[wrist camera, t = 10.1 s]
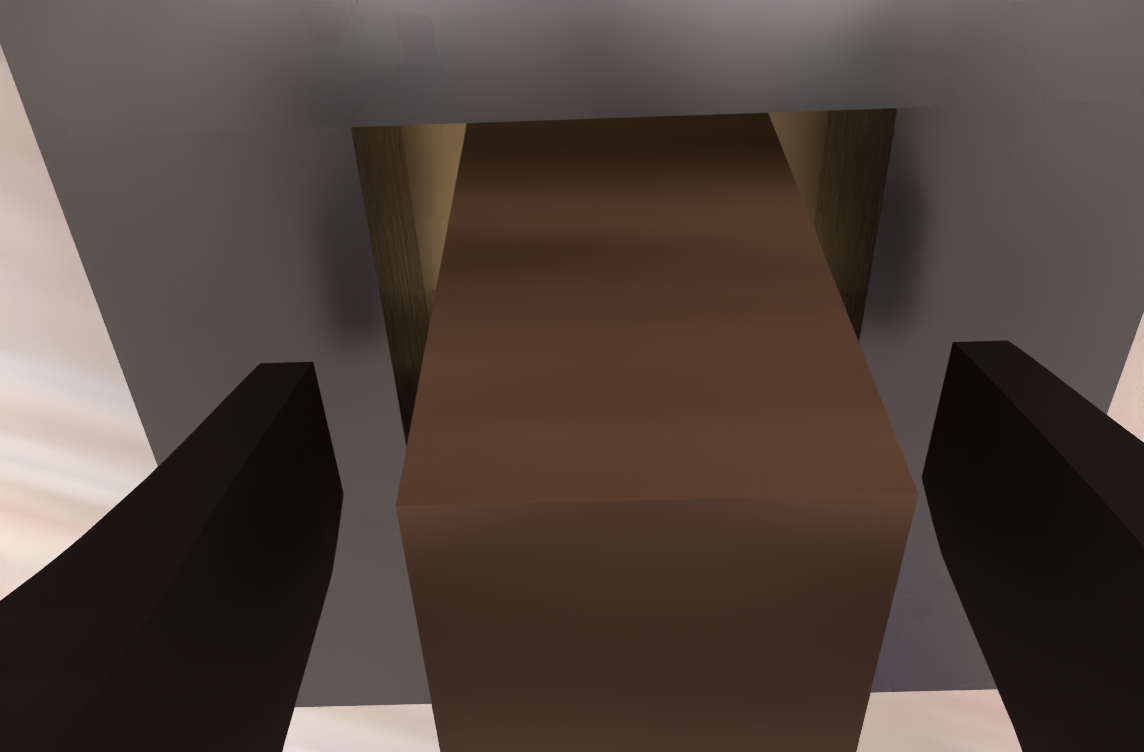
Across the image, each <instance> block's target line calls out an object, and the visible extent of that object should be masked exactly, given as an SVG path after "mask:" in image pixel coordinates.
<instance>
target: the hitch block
mask: <svg viewBox="0 0 1144 752" xmlns="http://www.w3.org/2000/svg"><path fill="white" fill-rule="evenodd" d="M0 44H1V47H2V49H3V52H4V55H5V57H6V60H7V63H8V65H9V68H10V71H11V73H12V76H13V79H14V81H15V84H16V87H17V90H18V92H19V95H20V98H21V100H22V103H23V106H24V108H25V111H26V114H27V116H28V119H29V122H30V124H31V127H32V130H33V132H34V135H35V138H36V140H37V143H38V146H39V149H40V151H41V154H42V157H43V159H44V162H45V165H46V167H47V170H48V173H49V175H50V178H51V181H52V183H53V186H54V189H55V191H56V194H57V197H58V199H59V202H60V205H61V207H62V210H63V213H64V216H65V218H66V221H67V224H68V226H69V229H70V232H71V234H72V237H73V240H74V242H75V245H76V248H77V250H78V253H79V256H80V258H81V261H82V264H83V266H84V269H85V272H86V275H87V277H88V280H89V283H90V285H91V288H92V291H93V293H94V296H95V299H96V301H97V304H98V307H99V309H100V312H101V315H102V317H103V320H104V323H105V325H106V328H107V331H108V334H109V336H110V339H111V342H112V344H113V347H114V350H115V352H116V355H117V358H118V360H119V363H120V366H121V368H122V371H123V374H124V376H125V379H126V382H127V384H128V387H129V390H130V392H131V395H132V398H133V401H134V403H135V406H136V409H137V411H138V414H139V417H140V419H141V422H142V425H143V427H144V430H145V433H146V435H147V438H148V441H149V443H150V446H151V449H152V451H153V454H154V457H155V460H156V462H157V465H158V466H159V465H160V464H161V463H162V462H163V461H164V460H165V459H166V458H167V457H168V456H169V455H170V454H171V453H172V452H173V451H174V450H175V449H176V448H177V447H178V446H179V445H180V444H181V443H182V442H183V441H184V440H185V439H186V438H187V437H188V436H189V435H190V434H191V433H192V432H193V431H194V430H195V429H196V428H197V427H198V426H199V425H200V424H201V423H202V422H203V421H204V420H205V419H206V418H207V417H208V416H209V415H210V414H211V413H212V412H213V411H214V410H215V409H216V407H217V406H218V405H219V404H220V403H221V402H222V401H223V400H224V399H225V398H226V397H227V396H228V395H229V394H230V393H231V392H232V391H233V390H234V389H235V388H236V387H237V386H238V385H239V384H240V383H241V382H242V381H243V380H244V379H245V378H246V377H247V376H248V375H249V374H250V373H251V372H252V371H253V370H254V369H255V368H256V367H257V366H258V365H259V364H260V363H283V362H314V367H315V371H316V376H317V380H318V384H319V389H320V393H321V397H322V402H323V406H324V410H325V415H326V419H327V423H328V428H329V432H330V436H331V441H332V445H333V449H334V454H335V458H336V462H337V467H338V471H339V475H340V480H341V484H342V489H343V493H344V496H343V504H342V511H341V519H340V526H339V534H338V541H337V547H336V554H335V560H334V566H333V572H332V576H331V580H330V583H329V587H328V591H327V595H326V598H325V602H324V605H323V609H322V613H321V616H320V620H319V623H318V627H317V631H316V634H315V638H314V641H313V645H312V648H311V652H310V655H309V659H308V662H307V665H306V669H305V672H304V676H303V679H302V683H301V686H300V690H299V693H298V697H297V700H296V704H295V707H320V706H359V705H398V704H432V703H431V697H430V692H429V686H428V681H427V675H426V670H425V664H424V659H423V653H422V648H421V642H420V637H419V631H418V626H417V620H416V615H415V610H414V604H413V599H412V593H411V588H410V582H409V577H408V571H407V566H406V560H405V555H404V549H403V544H402V538H401V533H400V527H399V522H398V516H397V511H396V502H397V497H398V491H399V486H400V481H401V475H402V470H403V464H404V459H405V454H406V448H407V443H408V438H409V432H410V427H411V421H412V416H413V411H414V405H415V400H416V394H417V389H418V384H419V378H420V373H421V367H422V362H423V357H424V351H425V346H426V340H427V335H428V330H429V324H430V319H431V313H432V308H433V303H434V297H435V292H436V287H437V281H438V276H439V270H440V265H441V260H442V254H443V249H444V243H445V238H446V233H447V227H448V222H449V216H450V211H451V206H452V200H453V195H454V189H455V184H456V179H457V173H458V168H459V163H460V157H461V152H462V146H463V141H464V136H465V130H466V125H467V123H483V122H512V121H541V120H570V119H598V118H627V117H656V116H685V115H714V114H743V113H769V116H770V118H771V121H772V124H773V126H774V129H775V131H776V134H777V136H778V139H779V141H780V144H781V146H782V149H783V151H784V154H785V156H786V159H787V162H788V164H789V167H790V169H791V172H792V174H793V177H794V179H795V182H796V184H797V187H798V189H799V192H800V195H801V197H802V200H803V202H804V205H805V207H806V210H807V212H808V215H809V217H810V220H811V222H812V225H813V227H814V230H815V233H816V235H817V238H818V240H819V243H820V245H821V248H822V250H823V253H824V255H825V258H826V260H827V263H828V266H829V268H830V271H831V273H832V276H833V278H834V281H835V283H836V286H837V288H838V291H839V293H840V296H841V298H842V301H843V304H844V306H845V309H846V311H847V314H848V316H849V319H850V321H851V324H852V326H853V329H854V331H855V334H856V337H857V339H858V342H859V344H860V347H861V349H862V352H863V354H864V357H865V359H866V362H867V364H868V367H869V369H870V372H871V375H872V377H873V380H874V382H875V385H876V387H877V390H878V392H879V395H880V397H881V400H882V402H883V405H884V408H885V410H886V413H887V415H888V418H889V420H890V423H891V425H892V428H893V430H894V433H895V435H896V438H897V440H898V443H899V446H900V448H901V451H902V453H903V456H904V458H905V461H906V463H907V466H908V468H909V471H910V473H911V476H912V479H913V481H914V484H915V486H916V489H917V491H918V498H917V502H916V506H915V511H914V515H913V519H912V523H911V527H910V531H909V535H908V540H907V544H906V548H905V552H904V556H903V560H902V564H901V568H900V573H899V577H898V581H897V585H896V589H895V593H894V597H893V601H892V606H891V610H890V614H889V618H888V622H887V626H886V630H885V635H884V639H883V643H882V647H881V651H880V655H879V659H878V663H877V668H876V672H875V676H874V680H873V684H872V688H871V692H904V691H943V690H982V689H997V686H996V684H995V682H994V679H993V677H992V675H991V672H990V670H989V668H988V665H987V663H986V660H985V658H984V656H983V653H982V651H981V649H980V646H979V644H978V642H977V639H976V637H975V635H974V632H973V630H972V627H971V625H970V623H969V620H968V618H967V616H966V613H965V611H964V608H963V606H962V604H961V601H960V599H959V596H958V594H957V591H956V589H955V587H954V584H953V582H952V579H951V577H950V575H949V572H948V570H947V567H946V565H945V562H944V560H943V557H942V554H941V551H940V547H939V544H938V540H937V536H936V533H935V529H934V526H933V522H932V518H931V514H930V510H929V506H928V502H927V498H926V494H925V490H924V486H923V482H922V478H921V477H922V473H923V469H924V464H925V460H926V456H927V451H928V447H929V443H930V438H931V434H932V430H933V425H934V421H935V417H936V412H937V408H938V404H939V399H940V395H941V391H942V386H943V382H944V378H945V373H946V369H947V365H948V360H949V356H950V352H951V347H952V343H953V342H970V341H1002V340H1008V341H1009V342H1011V343H1012V344H1014V345H1015V346H1017V347H1018V348H1020V349H1021V350H1022V351H1024V352H1025V353H1027V354H1028V355H1029V356H1031V357H1032V358H1033V359H1035V360H1036V361H1037V362H1039V363H1040V364H1041V365H1043V366H1044V367H1045V368H1047V369H1048V370H1049V371H1050V372H1052V373H1053V374H1054V375H1056V376H1057V377H1058V378H1060V379H1061V380H1062V381H1063V382H1065V383H1066V384H1067V385H1069V386H1070V387H1071V388H1072V389H1074V390H1075V391H1076V392H1078V393H1079V394H1080V395H1082V396H1083V397H1084V398H1085V399H1087V400H1088V401H1089V402H1091V403H1092V404H1093V405H1095V406H1096V407H1097V408H1098V409H1100V410H1101V411H1102V412H1104V413H1105V414H1106V415H1107V412H1108V409H1109V406H1110V404H1111V401H1112V398H1113V395H1114V392H1115V390H1116V387H1117V384H1118V381H1119V379H1120V376H1121V373H1122V370H1123V368H1124V365H1125V362H1126V359H1127V357H1128V354H1129V351H1130V348H1131V345H1132V343H1133V340H1134V337H1135V334H1136V332H1137V329H1138V326H1139V323H1140V321H1141V318H1142V315H1143V312H1144V0H0Z"/></svg>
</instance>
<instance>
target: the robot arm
mask: <svg viewBox="0 0 1144 752" xmlns="http://www.w3.org/2000/svg"><path fill="white" fill-rule="evenodd" d="M921 478H922V482H923V486H924V490H925V494H926V498H927V502H928V506H929V510H930V514H931V518H932V522H933V526H934V529H935V533H936V536H937V540H938V544H939V547H940V551H941V554H942V557H943V560H944V562H945V565H946V567H947V570H948V572H949V575H950V577H951V579H952V582H953V584H954V587H955V589H956V591H957V594H958V596H959V599H960V601H961V604H962V606H963V608H964V611H965V613H966V616H967V618H968V620H969V623H970V625H971V627H972V630H973V632H974V635H975V637H976V639H977V642H978V644H979V646H980V649H981V651H982V653H983V656H984V658H985V660H986V663H987V665H988V668H989V670H990V672H991V675H992V677H993V679H994V682H995V684H996V686H997V689H998V691H999V694H1000V696H1001V698H1002V701H1003V703H1004V705H1005V708H1006V710H1007V712H1008V715H1009V717H1010V720H1011V722H1012V724H1013V727H1014V729H1015V732H1016V735H1017V738H1018V740H1019V743H1020V746H1021V748H1022V751H1023V752H1144V442H1142V441H1141V440H1140V439H1138V438H1137V437H1135V436H1134V435H1133V434H1131V433H1130V432H1129V431H1127V430H1126V429H1125V428H1123V427H1122V426H1121V425H1119V424H1118V423H1117V422H1115V421H1114V420H1113V419H1112V418H1110V417H1109V416H1108V415H1106V414H1105V413H1104V412H1102V411H1101V410H1100V409H1098V408H1097V407H1096V406H1095V405H1093V404H1092V403H1091V402H1089V401H1088V400H1087V399H1085V398H1084V397H1083V396H1082V395H1080V394H1079V393H1078V392H1076V391H1075V390H1074V389H1072V388H1071V387H1070V386H1069V385H1067V384H1066V383H1065V382H1063V381H1062V380H1061V379H1060V378H1058V377H1057V376H1056V375H1054V374H1053V373H1052V372H1050V371H1049V370H1048V369H1047V368H1045V367H1044V366H1043V365H1041V364H1040V363H1039V362H1037V361H1036V360H1035V359H1033V358H1032V357H1031V356H1029V355H1028V354H1027V353H1025V352H1024V351H1022V350H1021V349H1020V348H1018V347H1017V346H1015V345H1014V344H1012V343H1011V342H1009V341H1008V340H1002V341H970V342H953V343H952V347H951V352H950V356H949V360H948V365H947V369H946V373H945V378H944V382H943V386H942V391H941V395H940V399H939V404H938V408H937V412H936V417H935V421H934V425H933V430H932V434H931V438H930V443H929V447H928V451H927V456H926V460H925V464H924V469H923V473H922V477H921ZM343 496H344V493H343V489H342V484H341V480H340V475H339V471H338V467H337V462H336V458H335V454H334V449H333V445H332V441H331V436H330V432H329V428H328V423H327V419H326V415H325V410H324V406H323V402H322V397H321V393H320V389H319V384H318V380H317V376H316V371H315V367H314V362H283V363H260V364H259V365H258V366H257V367H256V368H255V369H254V370H253V371H252V372H251V373H250V374H249V375H248V376H247V377H246V378H245V379H244V380H243V381H242V382H241V383H240V384H239V385H238V386H237V387H236V388H235V389H234V390H233V391H232V392H231V393H230V394H229V395H228V396H227V397H226V398H225V399H224V400H223V401H222V402H221V403H220V404H219V405H218V406H217V407H216V409H215V410H214V411H213V412H212V413H211V414H210V415H209V416H208V417H207V418H206V419H205V420H204V421H203V422H202V423H201V424H200V425H199V426H198V427H197V428H196V429H195V430H194V431H193V432H192V433H191V434H190V435H189V436H188V437H187V438H186V439H185V440H184V441H183V442H182V443H181V444H180V445H179V446H178V447H177V448H176V449H175V450H174V451H173V452H172V453H171V454H170V455H169V456H168V457H167V458H166V459H165V460H164V461H163V462H162V463H161V464H160V465H159V466H158V467H157V468H156V469H155V470H154V471H153V472H152V473H151V474H150V475H149V476H148V477H147V478H146V479H145V480H144V481H143V482H142V483H141V484H139V485H138V486H137V487H136V488H135V489H134V490H133V491H132V492H131V493H129V494H128V495H127V496H126V497H125V498H124V499H123V500H122V501H121V502H119V503H118V504H117V505H116V506H115V507H114V508H113V509H112V510H111V511H109V512H108V513H107V514H106V515H105V516H104V517H103V518H102V519H101V520H100V521H98V522H97V523H96V524H95V525H94V526H93V527H92V528H91V529H90V530H88V531H87V532H86V533H85V534H84V535H83V536H82V537H81V538H79V539H78V540H77V541H76V542H75V543H74V544H72V545H71V546H70V547H69V548H68V549H66V550H65V551H64V552H63V553H61V554H60V555H59V556H58V557H57V558H55V559H54V560H53V561H52V562H50V563H49V564H48V565H47V566H45V567H44V568H43V569H42V570H40V571H39V572H38V573H36V574H35V575H34V576H32V577H31V578H30V579H28V580H27V581H26V582H24V583H23V584H22V585H21V586H19V587H18V588H17V589H15V590H14V591H13V592H11V593H10V594H9V595H7V596H6V597H5V598H3V599H2V600H1V601H0V752H282V751H283V747H284V742H285V739H286V735H287V732H288V728H289V725H290V721H291V718H292V714H293V711H294V707H295V704H296V700H297V697H298V693H299V690H300V686H301V683H302V679H303V676H304V672H305V669H306V665H307V662H308V659H309V655H310V652H311V648H312V645H313V641H314V638H315V634H316V631H317V627H318V623H319V620H320V616H321V613H322V609H323V605H324V602H325V598H326V595H327V591H328V587H329V583H330V580H331V576H332V572H333V566H334V560H335V554H336V547H337V541H338V534H339V526H340V519H341V511H342V504H343Z"/></svg>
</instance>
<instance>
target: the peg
mask: <svg viewBox="0 0 1144 752" xmlns="http://www.w3.org/2000/svg"><path fill="white" fill-rule="evenodd" d="M917 498H918V491H917V489H916V486H915V484H914V481H913V479H912V476H911V473H910V471H909V468H908V466H907V463H906V461H905V458H904V456H903V453H902V451H901V448H900V446H899V443H898V440H897V438H896V435H895V433H894V430H893V428H892V425H891V423H890V420H889V418H888V415H887V413H886V410H885V408H884V405H883V402H882V400H881V397H880V395H879V392H878V390H877V387H876V385H875V382H874V380H873V377H872V375H871V372H870V369H869V367H868V364H867V362H866V359H865V357H864V354H863V352H862V349H861V347H860V344H859V342H858V339H857V337H856V334H855V331H854V329H853V326H852V324H851V321H850V319H849V316H848V314H847V311H846V309H845V306H844V304H843V301H842V298H841V296H840V293H839V291H838V288H837V286H836V283H835V281H834V278H833V276H832V273H831V271H830V268H829V266H828V263H827V260H826V258H825V255H824V253H823V250H822V248H821V245H820V243H819V240H818V238H817V235H816V233H815V230H814V227H813V225H812V222H811V220H810V217H809V215H808V212H807V210H806V207H805V205H804V202H803V200H802V197H801V195H800V192H799V189H798V187H797V184H796V182H795V179H794V177H793V174H792V172H791V169H790V167H789V164H788V162H787V159H786V156H785V154H784V151H783V149H782V146H781V144H780V141H779V139H778V136H777V134H776V131H775V129H774V126H773V124H772V121H771V118H770V116H769V113H743V114H714V115H685V116H656V117H627V118H598V119H570V120H541V121H512V122H483V123H467V125H466V130H465V136H464V141H463V146H462V152H461V157H460V163H459V168H458V173H457V179H456V184H455V189H454V195H453V200H452V206H451V211H450V216H449V222H448V227H447V233H446V238H445V243H444V249H443V254H442V260H441V265H440V270H439V276H438V281H437V287H436V292H435V297H434V303H433V308H432V313H431V319H430V324H429V330H428V335H427V340H426V346H425V351H424V357H423V362H422V367H421V373H420V378H419V384H418V389H417V394H416V400H415V405H414V411H413V416H412V421H411V427H410V432H409V438H408V443H407V448H406V454H405V459H404V464H403V470H402V475H401V481H400V486H399V491H398V497H397V502H396V511H397V516H398V522H399V527H400V533H401V538H402V544H403V549H404V555H405V560H406V566H407V571H408V577H409V582H410V588H411V593H412V599H413V604H414V610H415V615H416V620H417V626H418V631H419V637H420V642H421V648H422V653H423V659H424V664H425V670H426V675H427V681H428V686H429V692H430V697H431V703H432V708H433V714H434V719H435V725H436V730H437V736H438V741H439V747H440V752H856V750H857V746H858V742H859V738H860V734H861V730H862V725H863V721H864V717H865V713H866V709H867V705H868V701H869V696H870V692H871V688H872V684H873V680H874V676H875V672H876V668H877V663H878V659H879V655H880V651H881V647H882V643H883V639H884V635H885V630H886V626H887V622H888V618H889V614H890V610H891V606H892V601H893V597H894V593H895V589H896V585H897V581H898V577H899V573H900V568H901V564H902V560H903V556H904V552H905V548H906V544H907V540H908V535H909V531H910V527H911V523H912V519H913V515H914V511H915V506H916V502H917Z"/></svg>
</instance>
